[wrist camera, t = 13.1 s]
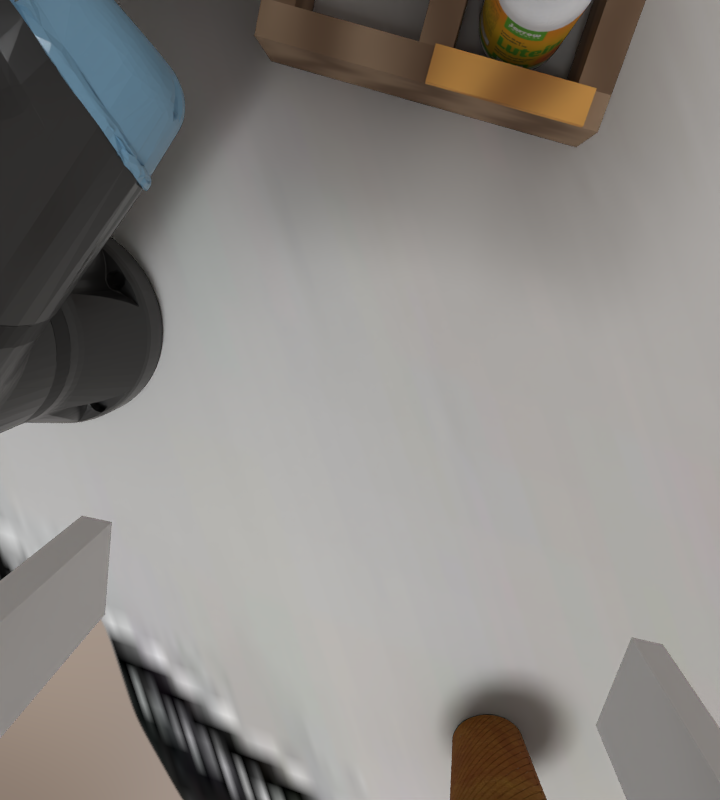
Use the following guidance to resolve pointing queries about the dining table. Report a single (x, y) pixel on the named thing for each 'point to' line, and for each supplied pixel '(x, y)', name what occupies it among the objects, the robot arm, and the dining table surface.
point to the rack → (458, 65)
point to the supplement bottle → (527, 29)
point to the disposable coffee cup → (492, 762)
